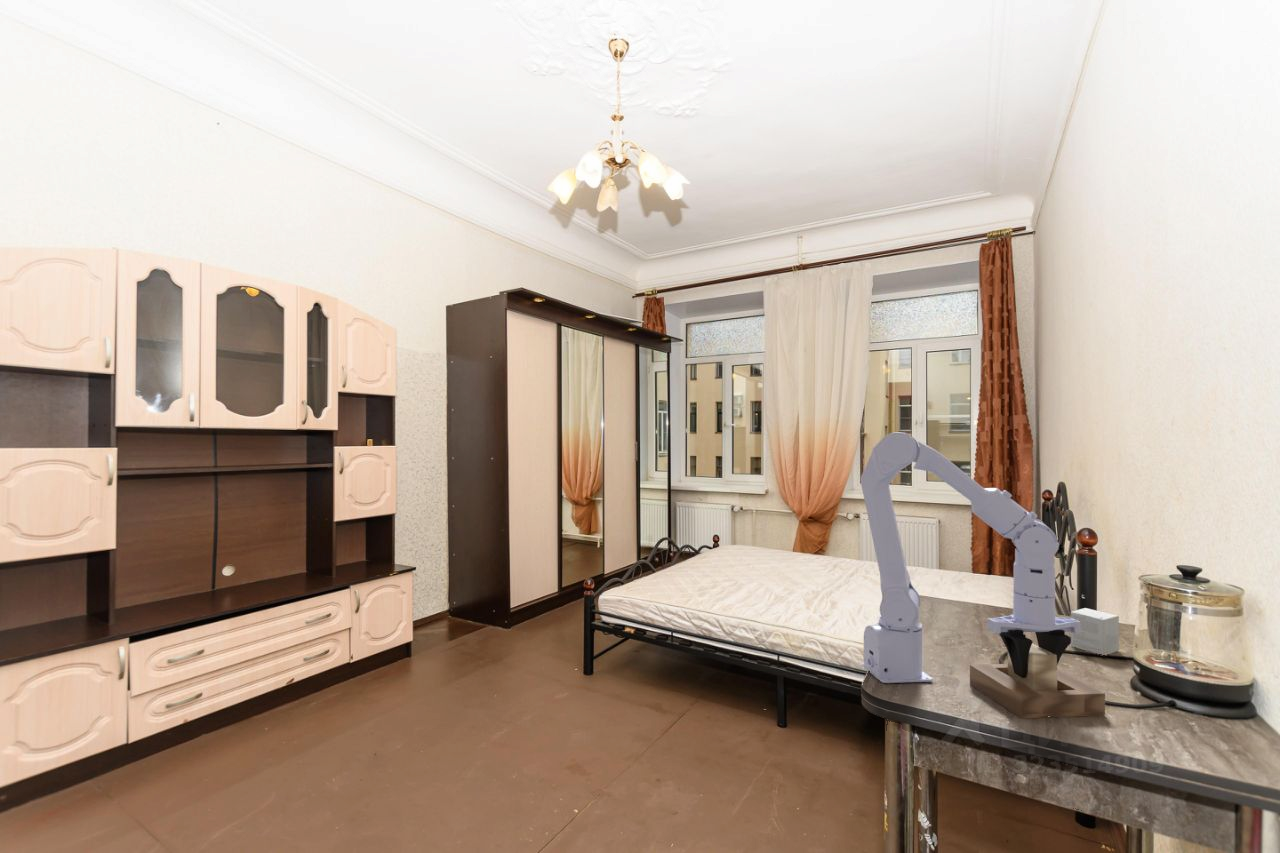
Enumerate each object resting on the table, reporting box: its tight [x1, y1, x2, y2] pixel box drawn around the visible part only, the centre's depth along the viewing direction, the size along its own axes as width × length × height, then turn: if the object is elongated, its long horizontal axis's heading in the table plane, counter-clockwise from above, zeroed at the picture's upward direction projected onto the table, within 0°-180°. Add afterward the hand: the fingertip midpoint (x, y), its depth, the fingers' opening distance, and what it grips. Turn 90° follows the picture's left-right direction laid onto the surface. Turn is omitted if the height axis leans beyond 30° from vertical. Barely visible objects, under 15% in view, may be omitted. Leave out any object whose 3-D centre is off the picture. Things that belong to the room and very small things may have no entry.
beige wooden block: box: [1007, 643, 1058, 691], centre depth 95 cm, size 4×6×6 cm, turn 2°
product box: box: [1070, 607, 1120, 656], centre depth 117 cm, size 6×6×7 cm
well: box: [969, 663, 1106, 719], centre depth 95 cm, size 14×12×3 cm
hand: (1033, 675), depth 95 cm, fingers closed on beige wooden block, 4 cm apart
